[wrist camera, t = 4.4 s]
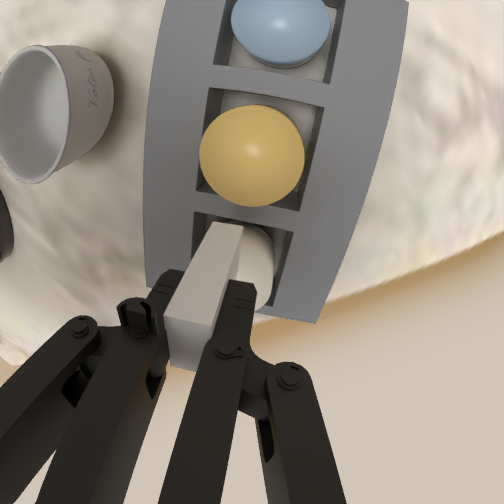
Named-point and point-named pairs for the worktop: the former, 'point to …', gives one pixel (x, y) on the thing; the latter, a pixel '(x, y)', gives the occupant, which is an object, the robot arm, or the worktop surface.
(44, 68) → the teacup
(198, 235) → the three ball holder
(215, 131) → the button ochre
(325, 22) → the button blue
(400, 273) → the worktop surface
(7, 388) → the robot arm
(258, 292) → the button ivory
